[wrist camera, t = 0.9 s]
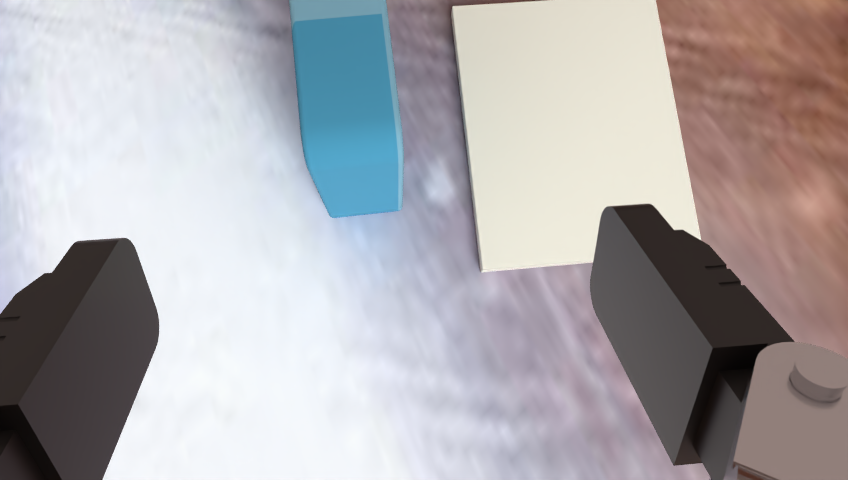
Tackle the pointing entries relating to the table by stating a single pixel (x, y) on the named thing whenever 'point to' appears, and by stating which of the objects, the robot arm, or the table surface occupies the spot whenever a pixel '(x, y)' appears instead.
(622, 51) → the cream mat
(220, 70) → the table surface
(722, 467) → the robot arm
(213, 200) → the table surface
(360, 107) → the data package
